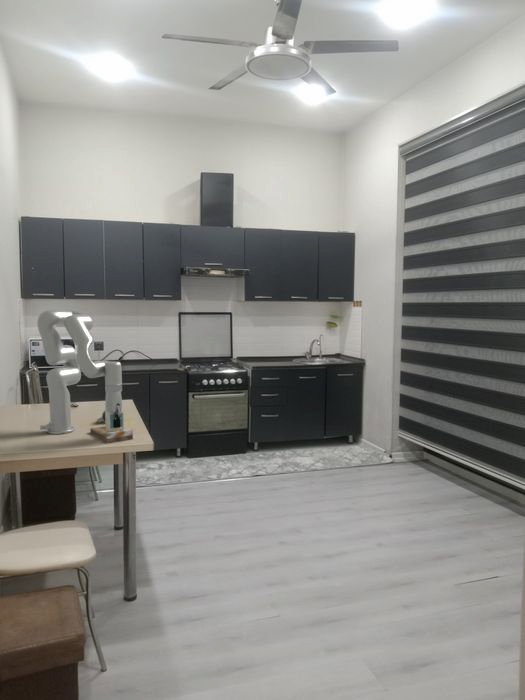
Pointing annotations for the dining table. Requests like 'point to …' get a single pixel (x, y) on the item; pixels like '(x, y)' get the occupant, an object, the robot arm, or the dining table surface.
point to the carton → (109, 421)
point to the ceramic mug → (102, 418)
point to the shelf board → (112, 434)
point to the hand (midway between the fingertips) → (114, 426)
